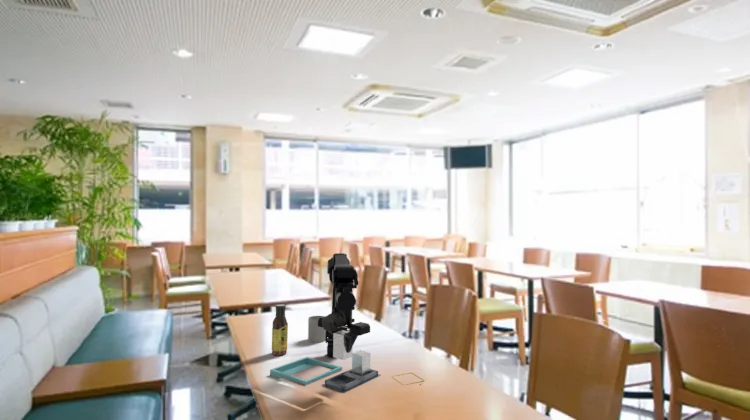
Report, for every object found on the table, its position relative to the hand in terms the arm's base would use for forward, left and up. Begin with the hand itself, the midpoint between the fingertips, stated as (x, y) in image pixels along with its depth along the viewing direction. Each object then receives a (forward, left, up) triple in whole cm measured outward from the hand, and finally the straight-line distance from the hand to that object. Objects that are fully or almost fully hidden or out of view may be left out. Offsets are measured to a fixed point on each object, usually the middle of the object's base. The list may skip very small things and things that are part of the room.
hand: (343, 351), depth 148 cm
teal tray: (-1, -18, -12) cm, 22 cm away
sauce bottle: (-11, -44, -13) cm, 47 cm away
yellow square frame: (-18, +14, -13) cm, 26 cm away
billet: (0, 0, -2) cm, 2 cm away
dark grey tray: (-5, 0, -12) cm, 13 cm away
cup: (-35, -46, -13) cm, 59 cm away
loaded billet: (-10, 0, -11) cm, 15 cm away
